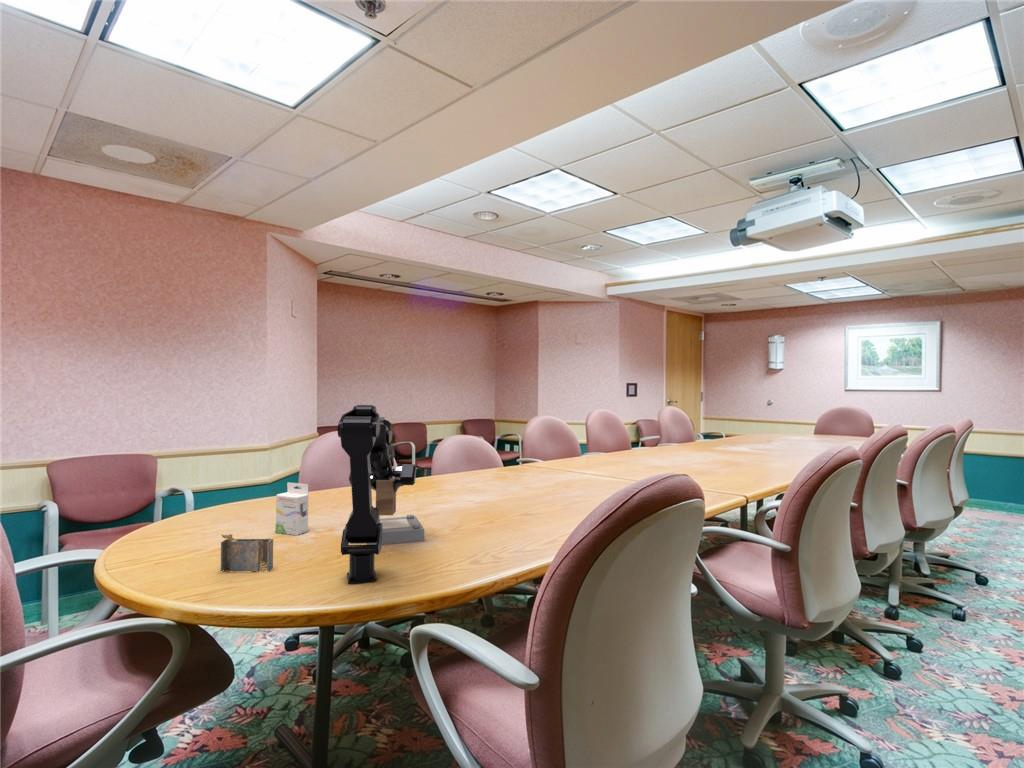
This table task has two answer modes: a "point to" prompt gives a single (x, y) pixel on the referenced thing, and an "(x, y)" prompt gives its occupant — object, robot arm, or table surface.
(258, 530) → the table surface
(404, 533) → the base brick
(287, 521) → the ink box
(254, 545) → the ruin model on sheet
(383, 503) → the walnut brick
